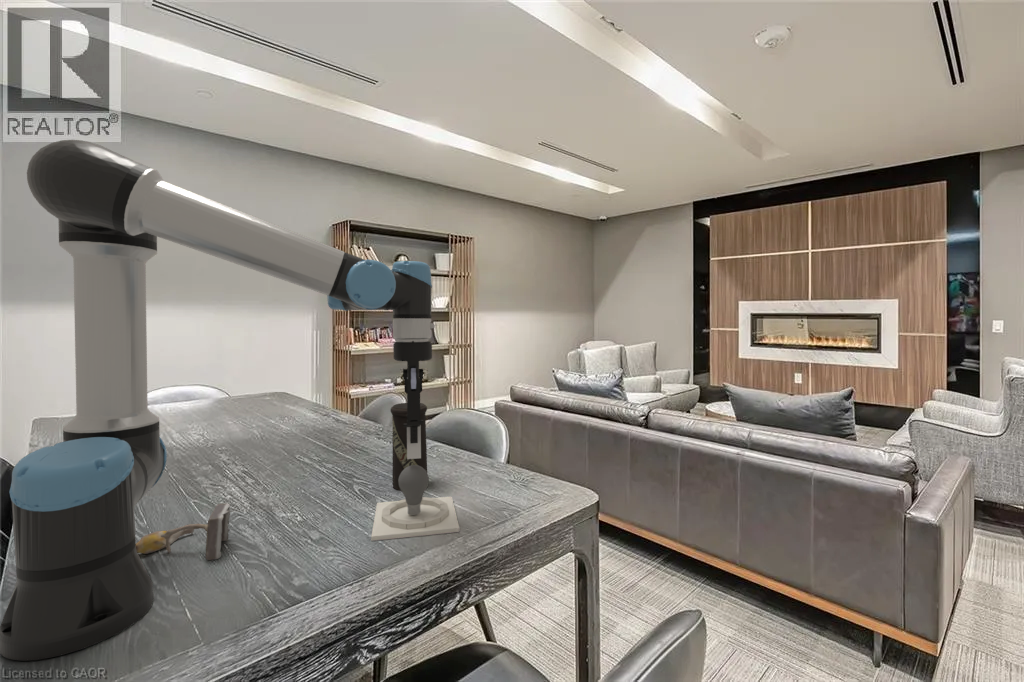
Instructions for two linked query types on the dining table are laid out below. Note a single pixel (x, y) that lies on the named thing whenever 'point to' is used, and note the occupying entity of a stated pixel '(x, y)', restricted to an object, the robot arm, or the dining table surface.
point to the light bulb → (413, 486)
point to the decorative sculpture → (214, 528)
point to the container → (405, 441)
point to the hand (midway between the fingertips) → (414, 457)
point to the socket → (414, 519)
